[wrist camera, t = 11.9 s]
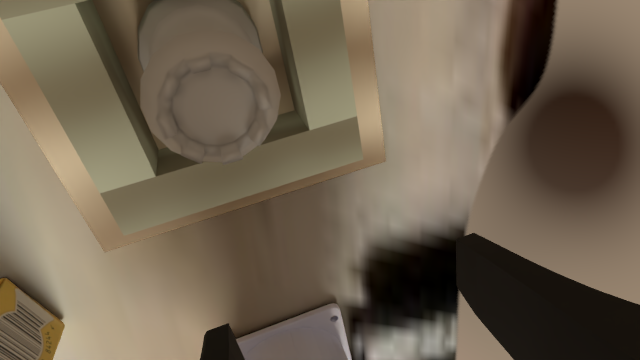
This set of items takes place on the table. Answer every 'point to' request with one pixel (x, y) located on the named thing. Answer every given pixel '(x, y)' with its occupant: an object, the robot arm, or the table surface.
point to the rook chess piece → (205, 79)
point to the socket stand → (152, 154)
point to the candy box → (26, 326)
